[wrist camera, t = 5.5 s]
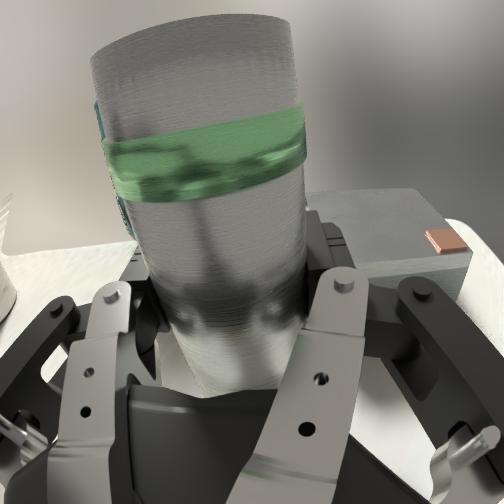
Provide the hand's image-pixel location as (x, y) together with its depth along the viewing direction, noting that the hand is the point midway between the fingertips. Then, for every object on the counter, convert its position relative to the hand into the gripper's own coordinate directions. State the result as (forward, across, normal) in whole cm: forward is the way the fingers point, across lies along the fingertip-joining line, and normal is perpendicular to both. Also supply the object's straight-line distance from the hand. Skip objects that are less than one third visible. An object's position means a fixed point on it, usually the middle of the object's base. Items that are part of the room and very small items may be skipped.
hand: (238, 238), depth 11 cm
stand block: (+6, -8, +9) cm, 14 cm away
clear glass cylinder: (-3, 0, +9) cm, 9 cm away
